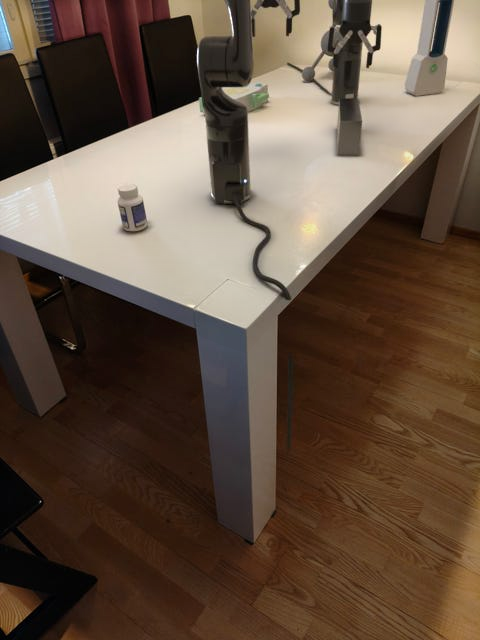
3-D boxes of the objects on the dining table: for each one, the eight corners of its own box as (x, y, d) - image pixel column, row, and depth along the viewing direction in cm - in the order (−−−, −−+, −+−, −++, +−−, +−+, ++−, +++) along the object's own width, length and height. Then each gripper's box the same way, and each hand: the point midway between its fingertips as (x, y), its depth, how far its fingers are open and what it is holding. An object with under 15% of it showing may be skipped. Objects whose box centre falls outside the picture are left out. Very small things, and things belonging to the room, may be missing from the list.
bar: (358, 155, 133) (362, 121, 127) (337, 155, 134) (340, 121, 128) (355, 129, 151) (358, 98, 145) (336, 129, 152) (339, 98, 146)
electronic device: (413, 96, 177) (429, -3, 159) (402, 91, 183) (416, -4, 164) (444, 92, 179) (462, -6, 161) (432, 88, 185) (449, -7, 167)
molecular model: (291, 76, 212) (292, -6, 194) (337, 70, 217) (342, -11, 198) (313, 87, 194) (316, -2, 176) (362, 81, 199) (371, -7, 180)
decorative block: (232, 78, 185) (277, 83, 175) (233, 96, 189) (277, 102, 179) (189, 94, 169) (235, 100, 159) (191, 113, 173) (236, 121, 163)
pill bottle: (149, 220, 107) (142, 181, 102) (146, 231, 103) (138, 191, 98) (125, 221, 107) (116, 182, 102) (121, 232, 103) (112, 193, 98)
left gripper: (237, -43, 110) (240, 39, 120) (300, -46, 108) (298, 37, 118) (242, -43, 116) (244, 35, 126) (301, -46, 114) (299, 33, 124)
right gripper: (384, -3, 129) (376, 64, 139) (330, -1, 132) (326, 66, 141) (386, 0, 124) (378, 70, 134) (330, 2, 126) (326, 71, 136)
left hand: (270, 36), depth 122 cm, fingers open, 8 cm apart
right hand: (351, 68), depth 137 cm, fingers open, 8 cm apart
